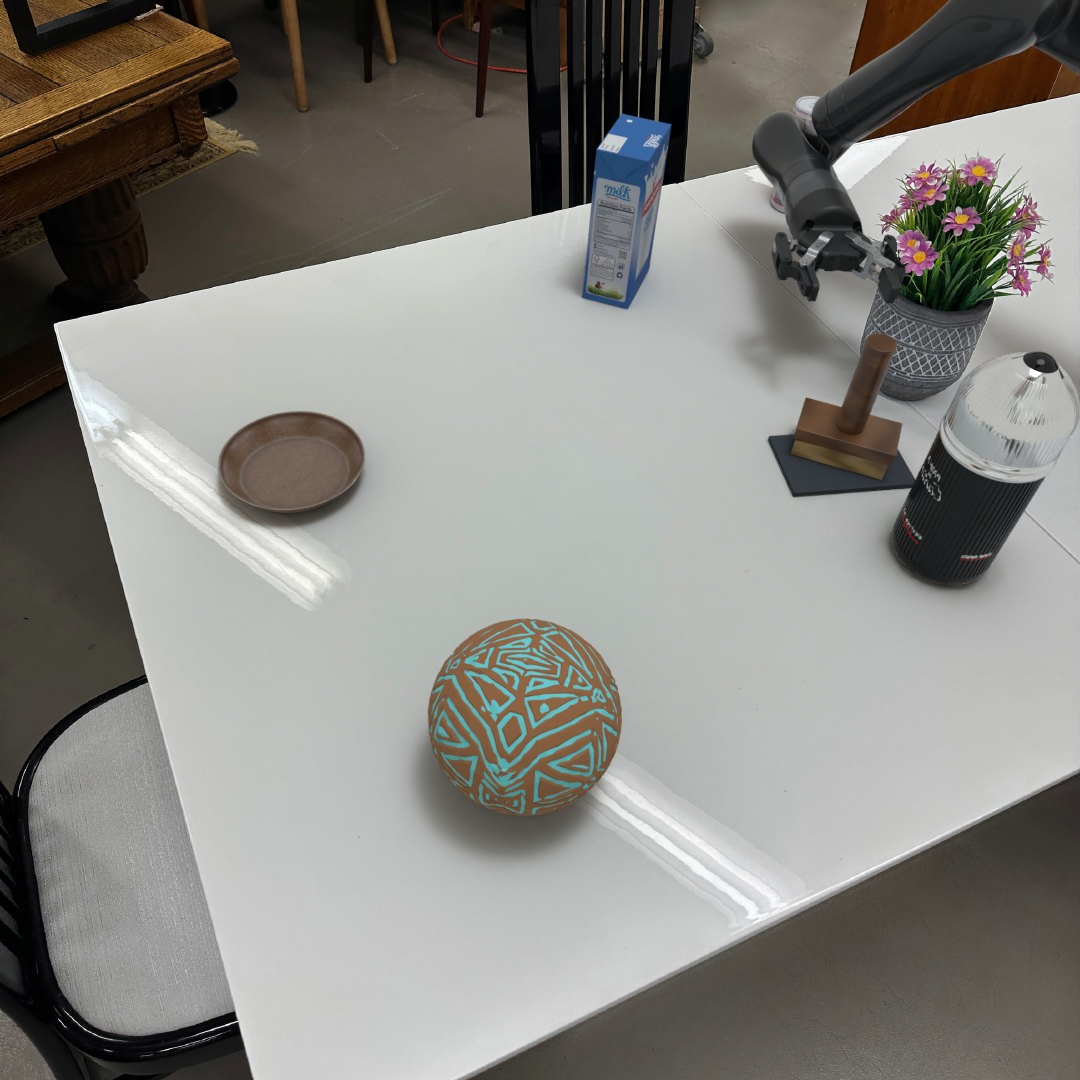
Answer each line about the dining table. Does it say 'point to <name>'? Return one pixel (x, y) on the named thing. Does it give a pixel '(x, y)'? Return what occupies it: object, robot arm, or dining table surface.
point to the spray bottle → (985, 465)
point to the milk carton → (624, 209)
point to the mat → (832, 473)
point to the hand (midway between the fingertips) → (853, 295)
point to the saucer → (291, 461)
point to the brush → (853, 419)
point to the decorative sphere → (524, 717)
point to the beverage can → (805, 113)
